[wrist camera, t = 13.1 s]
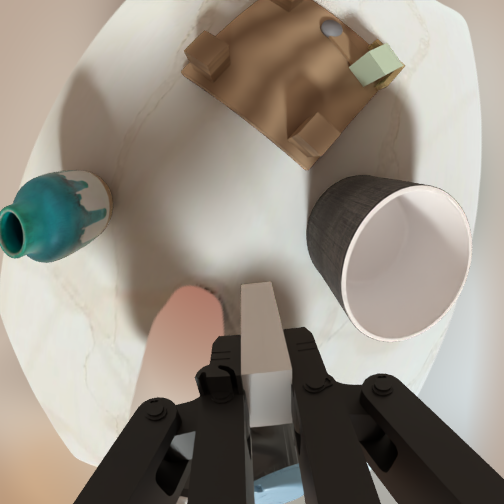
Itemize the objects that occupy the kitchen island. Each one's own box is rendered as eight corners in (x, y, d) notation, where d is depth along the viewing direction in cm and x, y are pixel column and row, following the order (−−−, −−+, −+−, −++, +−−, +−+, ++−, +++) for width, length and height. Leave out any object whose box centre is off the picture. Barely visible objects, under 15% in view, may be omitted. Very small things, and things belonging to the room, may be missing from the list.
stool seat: (390, 73, 33) (420, 58, 24) (305, 170, 38) (323, 171, 29) (281, -12, 28) (289, -43, 20) (183, 75, 33) (168, 54, 24)
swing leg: (332, 19, 29) (348, -2, 22) (379, 78, 32) (403, 65, 25) (314, 27, 29) (328, 5, 22) (363, 87, 32) (385, 74, 25)
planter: (394, 161, 38) (462, 166, 23) (415, 263, 43) (472, 303, 28) (289, 198, 39) (318, 219, 24) (324, 303, 44) (357, 364, 29)
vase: (61, 220, 38) (-20, 257, 20) (78, 159, 36) (-10, 166, 17) (111, 246, 40) (40, 301, 22) (132, 182, 37) (54, 200, 19)
